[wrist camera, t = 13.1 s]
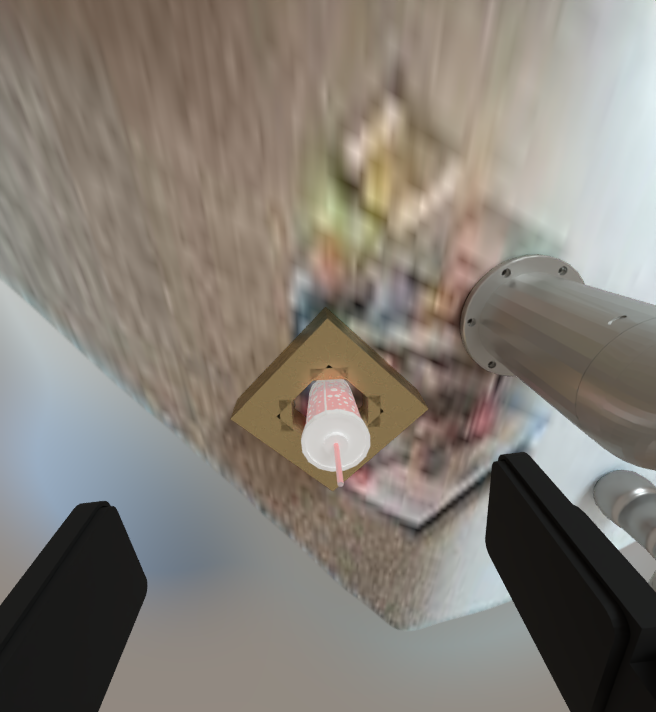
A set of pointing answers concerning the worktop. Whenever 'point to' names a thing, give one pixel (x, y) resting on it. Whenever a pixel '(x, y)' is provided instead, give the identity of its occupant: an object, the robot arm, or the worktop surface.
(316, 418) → the beverage cup
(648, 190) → the worktop surface
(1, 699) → the robot arm
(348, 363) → the block
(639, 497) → the plastic bottle
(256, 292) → the worktop surface
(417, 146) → the worktop surface
